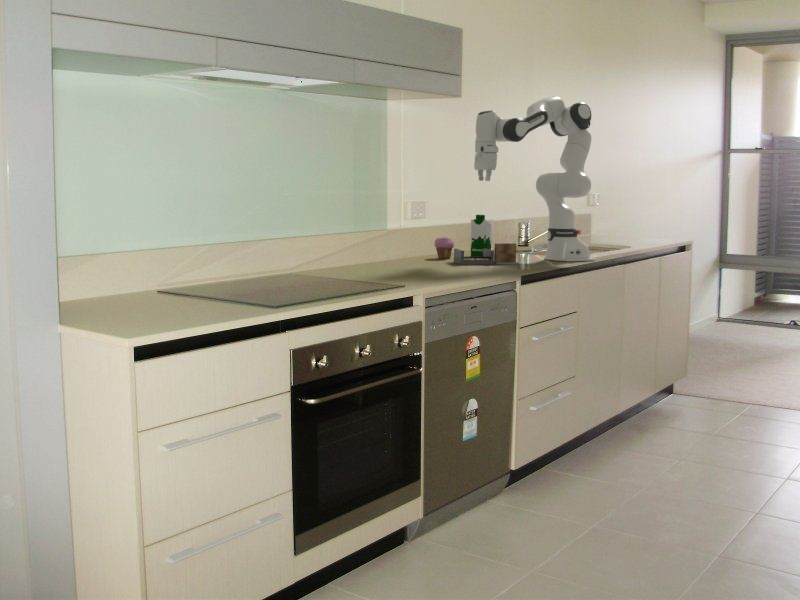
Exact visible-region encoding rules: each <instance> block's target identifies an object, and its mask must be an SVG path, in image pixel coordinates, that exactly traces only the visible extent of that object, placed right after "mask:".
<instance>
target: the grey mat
mask: <svg viewBox="0 0 800 600" xmlns="http://www.w3.org/2000/svg"><path fill="white" fill-rule="evenodd" d="M498 264H500V265H520V262H518V261H516V262H494V265H498Z"/></svg>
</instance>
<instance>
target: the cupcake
mask: <svg viewBox="0 0 800 600" xmlns="http://www.w3.org/2000/svg"><path fill="white" fill-rule="evenodd" d="M454 242H455V241H453V240H452V239H451V237H448V236H440V237H437V238H436V239H435V241H434V247H435V250H436V253H437V258H438V259H444V260H445V259H450V258H451V257H452V252H453V249H454V246H455V243H454Z"/></svg>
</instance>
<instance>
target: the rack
mask: <svg viewBox="0 0 800 600" xmlns="http://www.w3.org/2000/svg"><path fill="white" fill-rule="evenodd" d="M464 259H475V260H464ZM476 259H489V260H476ZM453 263H455V264H458V265H460V266H490V265H491V266H492V265H493V266H494V265H495V264H494V250H492V249H491V250H490V249H486V248H483V256H471V255H469V256H465V250H462V249H459V248H453Z"/></svg>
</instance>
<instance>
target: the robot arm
mask: <svg viewBox="0 0 800 600" xmlns="http://www.w3.org/2000/svg"><path fill="white" fill-rule="evenodd" d="M565 105H566V104H565V102H564V101H563V99H562V98H561V97H559V96H550V97H545V98H542V99H540V100H537V101H535V102H533V103H532V104H530V105H529V106H528V107H527V109H526V117H523V118H521V117H514V118H502V117H500V116H499V115H498V114H497V113H496V111H495V110H483V111H479V112H478V114H477V116H476V121H475V136H476V137H475V142H474V153H475V155H474V164H473V165H474V166H473V167H474V170H475V171H477V175H478V181H479V182H482V181H484V178H485V181H486V182H490V181H491V176H492V171H495V170H496V168H497V163H498V162H497V160H498V153H499V147H498V146H497V144H496V143H497V142H498V143H499V142H512V143H518V142H521V141H522V140H523V139H524V138H526V136H527V135H528V134H529V133H530V132H532V131H533V130H535V129H537V128H540V127H542V126H546V125H548V124H549V127H550V129H551V131H552V132H553V133H554V135H555V136H557V137H566V136H567V141H566V143H565V145H564V147H563V151H562V152H561V156H560V159H559V163H560V166H561V168H562V169H564V171H565V172H549V173H543V174H540V175H539V176H538V177H537V179H536V182H535V188H536V192H537V193H538V194H539V195H540V197H541V198H543V199H544V201H545V203H546V206H547V208H548V216H549V217H548V219H549V220H548V223H549V224H548V228H547V246H546V251H545V255H544V259H545V260H548V261H559V262H560V261H561V262H585V261H586V262H587V261H588V262H589V261H592V262H593V261H595V257H593V256H591V252H590V247H589V246H588V244H587V243H585V242H584V241H583V240H582V239H580V238H579V237H578V235H581V234H582V230H581V229H576V228H575V211H574V209H573V208H572V207H570V206H568V205H567V203H566V202H565V199H566V198H567V199H569V198H570V199H577V198H578V199H579V198H583V197H587V195H589V194H590V191H591V189H592V181H591V179H590V177H589V176H588V175H587V174H586V173H585V169H584V168H585V165H586V160H587V158H588V155H589V152H590V149H591V144H592V135H591V133H590V131H588V130H587V129H588V128H590V127H591V121H592V110H591V108H590V106H589V105H588V104H587V103H585V102H582V101H580V102H576V103H573V104H572V105H570V106H568V107H566V106H565ZM484 171H485V173H486V174H485V177H484Z"/></svg>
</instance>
